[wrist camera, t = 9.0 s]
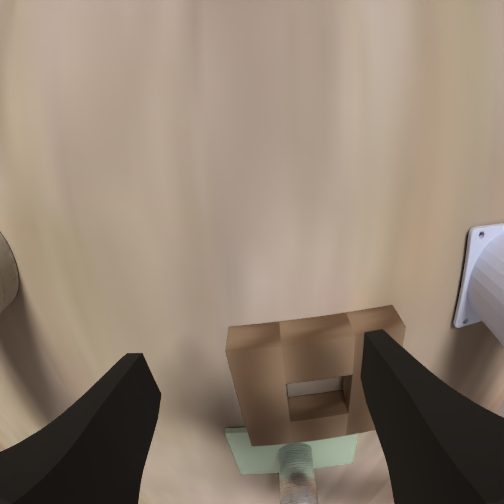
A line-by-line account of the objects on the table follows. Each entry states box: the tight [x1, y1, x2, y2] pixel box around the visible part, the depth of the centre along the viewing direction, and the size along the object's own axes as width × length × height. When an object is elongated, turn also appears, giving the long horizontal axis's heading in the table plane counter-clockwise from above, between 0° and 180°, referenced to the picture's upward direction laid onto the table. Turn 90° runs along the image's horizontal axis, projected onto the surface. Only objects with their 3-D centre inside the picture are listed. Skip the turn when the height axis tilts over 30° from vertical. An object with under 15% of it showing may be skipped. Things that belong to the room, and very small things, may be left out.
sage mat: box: [225, 427, 359, 475], centre depth 26 cm, size 12×9×1 cm
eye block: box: [225, 305, 406, 446], centre depth 21 cm, size 11×11×2 cm
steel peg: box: [278, 443, 318, 504], centre depth 22 cm, size 3×3×9 cm
